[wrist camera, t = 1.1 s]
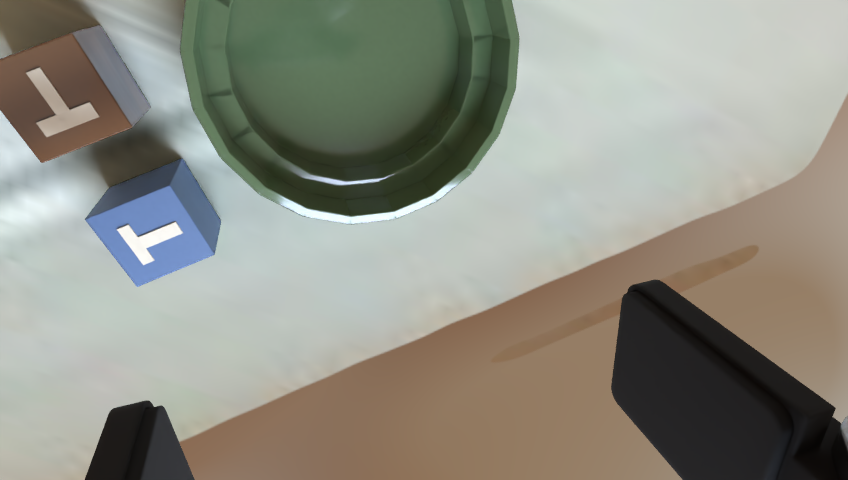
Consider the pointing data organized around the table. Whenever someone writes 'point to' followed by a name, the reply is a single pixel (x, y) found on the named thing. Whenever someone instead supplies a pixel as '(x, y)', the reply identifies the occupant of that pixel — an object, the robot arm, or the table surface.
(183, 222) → the periwinkle blue block
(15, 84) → the walnut block
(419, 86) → the faceted green bowl
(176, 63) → the table surface
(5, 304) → the table surface
